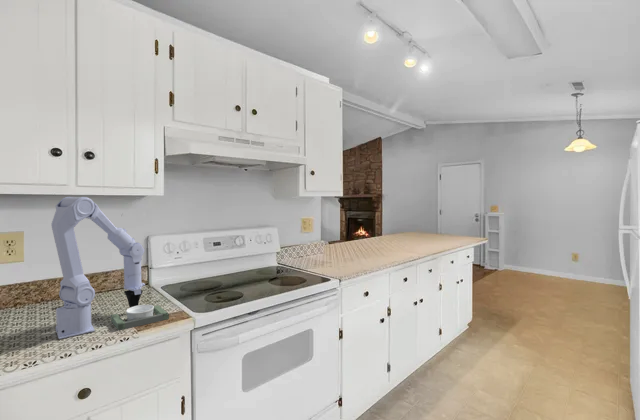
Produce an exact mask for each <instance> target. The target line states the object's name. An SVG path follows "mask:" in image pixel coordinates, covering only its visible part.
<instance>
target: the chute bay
mask: <svg viewBox="0 0 640 420" xmlns="http://www.w3.org/2000/svg"><path fill="white" fill-rule="evenodd" d="M153 306H154V309H153V316H149V317H144V318H140V319H135V320H131V321H128V320H127V321H124V320H123V319H122V318H121V316H120V315H119V314H118V313H115V314H110V321H111V322H112V324H113V325H114V327H115V328H116V329H117V331H123V330H127V329H128V330H129V329H131V328H135V327H140V326H146V325H149V324H152V323H153V324H154V323H157V322H162V321H167V320H169V319H170V316H169V315H170V313H169V311H166V310H165V309H164V308H163V307H161V306H160V305H159V304H158V305H153Z"/></svg>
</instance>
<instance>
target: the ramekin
mask: <svg viewBox="0 0 640 420" xmlns="http://www.w3.org/2000/svg"><path fill="white" fill-rule="evenodd" d="M154 306H155V305H153V304H138V306H134V307H131V308H130V307H129V308H127V309H126V310H125V313H126V319H127V321H131V320H135V319H140V318H144V317H149V316H153V315H154V312H153V309H154Z"/></svg>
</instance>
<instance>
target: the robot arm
mask: <svg viewBox="0 0 640 420" xmlns="http://www.w3.org/2000/svg"><path fill="white" fill-rule="evenodd" d="M85 219H87V220H91V221H92V222H93V223H95V225H96V226H98V228H100V229H101V230H103V231H104V232H105V233H107V240H109V242H111V244H113V245H114V246H115V247H116V248H118V250H119V255H121V256H122V257H123V279H124V280H123V281H124V283H123V289H124V291H123V293H124V294H125V297H126V299H127V303H128V307H129V308H131V307H134V306H138V305H139V302H140V298H141V297H142V295H143V290H142V287H145V286H146V284H145V283H144V282H142V259H143V255H144V254H145V248H144V247H143V245H142V243H140V242H138V241H137V242H136V239H135V238H134V237H132V236H131V235H130V234H129V233H128V230H127V229H126V228H124V227H116V226H115V224H113V222H112V221H111V220H110V219H109V217H108V216H107V215H105V213H104V212H103V211H102V210H101V209H100V207H99V205H98V204H97V203H96V202H94V200H93V199H91V197H90V198H89V197H87V196H79V197H75V196H66V197H62V199H61V200H59V202H58V203H56V204H55V213H54V215H53V218H52V221H51V230H52V234H53V238H54V243H55V247H56V251H57V256H58V260H59V264H60V269H61V273H62V278H63V279H61V281H60V282H59V285H60V288H59V293H58V296H59V298H60V300H61V301H62V302H63V306H61V307H58V308H56V309H55V324H56V325H55V332H56V335H57V338H58V339H59V340H61V339H66V338H69V337H75V336H79V335H83V334H88V333H92V332H93V333H94V332H95V328H94V326H93V324H92V302H93V300H94V299H95V297H96V291H95V289H94V287H92V285H91V282H90V280H89V279H88V278H87V276H86V275H85V274H84V269H83V265H82V261H81V257H80V256H81V255H80V251H79V248H78V247H79V246H78V242H77V238H76V232H75V227H76V226H77V225H78V224H79V223H80V222H82V220H85Z"/></svg>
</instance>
